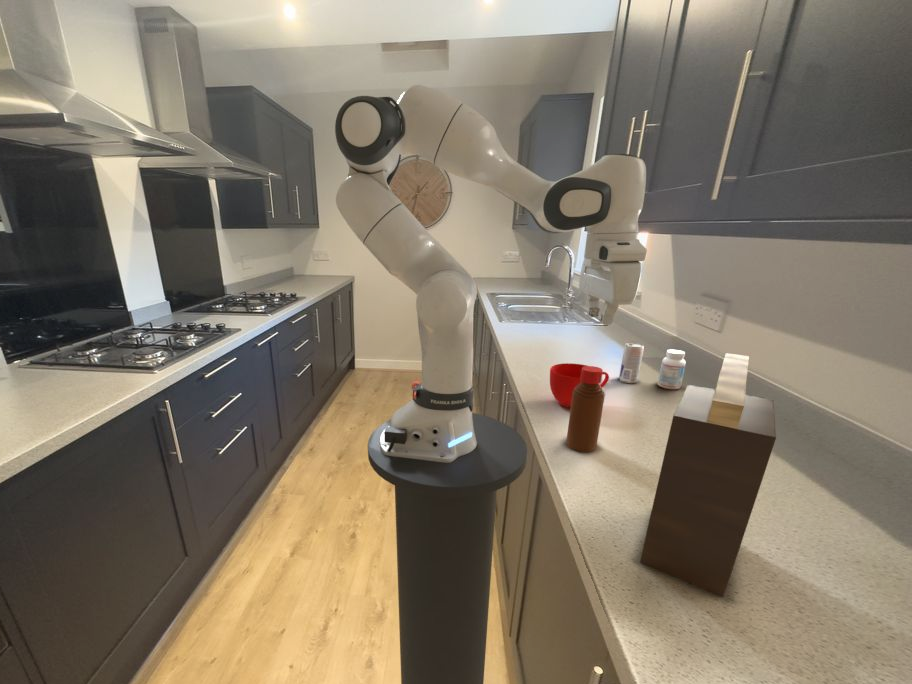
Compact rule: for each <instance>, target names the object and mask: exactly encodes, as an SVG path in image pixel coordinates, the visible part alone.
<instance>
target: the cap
mask: <svg viewBox="0 0 912 684" xmlns="http://www.w3.org/2000/svg"><path fill="white" fill-rule="evenodd" d="M602 372H604V371H603V368H602V367H598V366H594V365H587V366H584V367H582V371H581V377H580V380H581V382H583V383H587V384H599V385H600V384H601V383H602V379H603V375H602Z"/></svg>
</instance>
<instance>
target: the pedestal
mask: <svg viewBox="0 0 912 684" xmlns="http://www.w3.org/2000/svg"><path fill="white" fill-rule="evenodd" d="M715 390H716V389H714V388H709V387H701V386H696V385H690V384H687V385H686V388H685V390H684V391H683V394H682V397H681V398H680V400H679V403H678V405H677V407H676V409H675V411H674V414H673V416H672V420H671V424H670V428H669V432H668V438H667V442H666V446H665V450H664V455H663V459H662V464H661V467H660V472H659V476H658V481H657V485H656V490H655V494H654V498H653V503H652V508H651V512H650V515H649V519H648V520H649V521H648V525H647V529H646V534H645V538H644V542H643V546H642V551H641V556H640V559H639V562H640V563H641V564H644V565H645V566H649V567H651V568H653V569H655V570H658V571H660V572H663V573H665V574H668V575H670V576H673V577H675V578H677V579H679V580H682V581H685V582H687V583H689V584H692V585H694V586H696V587H698V588H701V589H703V590H706V591H709V592H711V593H714V594H715V595H717V596H721V597H724V596H725V593H726V591H727V587H728V585H729V581H730V579H731V575H732V572H733V570H734V568H735V567H734V566H735V564H736V560H737V557H738V555H739V552H740V548H741V545H742V542H743V539H744V537H745V533H746V531H747V527H748V524H749V521H750V518H751V515H752V512H753V509H754V506H755V503H756V500H757V497H758V494H759V491H760V489H761V486H762V482H763V479H764V476H765V473H766V470H767V467H768V464H769V461H770V459H771V456H772V455H771V454H772V452H773V449H774V446H775V443H776V440H777V429H776V427H777V426H776V412H775V400H774V399H772V398H767V397H766V398H765V397H760V396H754V395H748V394H745V403H744V409H743V412H742V415H741V419H740V422H739V426H738V429H735V428H730V427H726V426H721V425H716V424H711V423H707V420H708V416H709V412H710V408H711V404H712V400H713V397H714V393H715Z"/></svg>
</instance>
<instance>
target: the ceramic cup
mask: <svg viewBox="0 0 912 684" xmlns="http://www.w3.org/2000/svg"><path fill="white" fill-rule="evenodd" d="M584 366H588V365H586V364H582V363H572V362H571V363H565V362H564V363H557V364H554V365H552V366H551V367H550V369H549V387H550V392H551V393H552V395H553V397H554V399H555V400H556V401H557V403H558V404H559V405H560V406H562V407H565V408H570V409H571V402H572V395H573V390H574V388H575V387H577V385H579V383H581V380H580V377H581V371H582V367H584ZM602 376H604V379H603V381H601V383H599V385H600V387H601V388H602V389H603V388H604V386H606V385H607V383H608V382H609V379H610V375H609V373H608V372H606V371H602Z"/></svg>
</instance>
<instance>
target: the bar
mask: <svg viewBox="0 0 912 684" xmlns="http://www.w3.org/2000/svg"><path fill="white" fill-rule="evenodd" d="M749 363H750V356H749V355H742V354H737V353H736V354H734V353H726V352H725V355H724V359H723V362H722V365H721V369H720V372H719V376H718V379H717V383H716V387H715V389H714V390H715V393H714V397H713V400H712V404H711V408H710V412H709V416H708V420H707V423H711V424H716V425H721V426H726V427H730V428H735V429H738V426H739V422H740V419H741V415H742V412H743V409H744V403H745V395H746V391H747V383H748V372H749Z"/></svg>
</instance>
